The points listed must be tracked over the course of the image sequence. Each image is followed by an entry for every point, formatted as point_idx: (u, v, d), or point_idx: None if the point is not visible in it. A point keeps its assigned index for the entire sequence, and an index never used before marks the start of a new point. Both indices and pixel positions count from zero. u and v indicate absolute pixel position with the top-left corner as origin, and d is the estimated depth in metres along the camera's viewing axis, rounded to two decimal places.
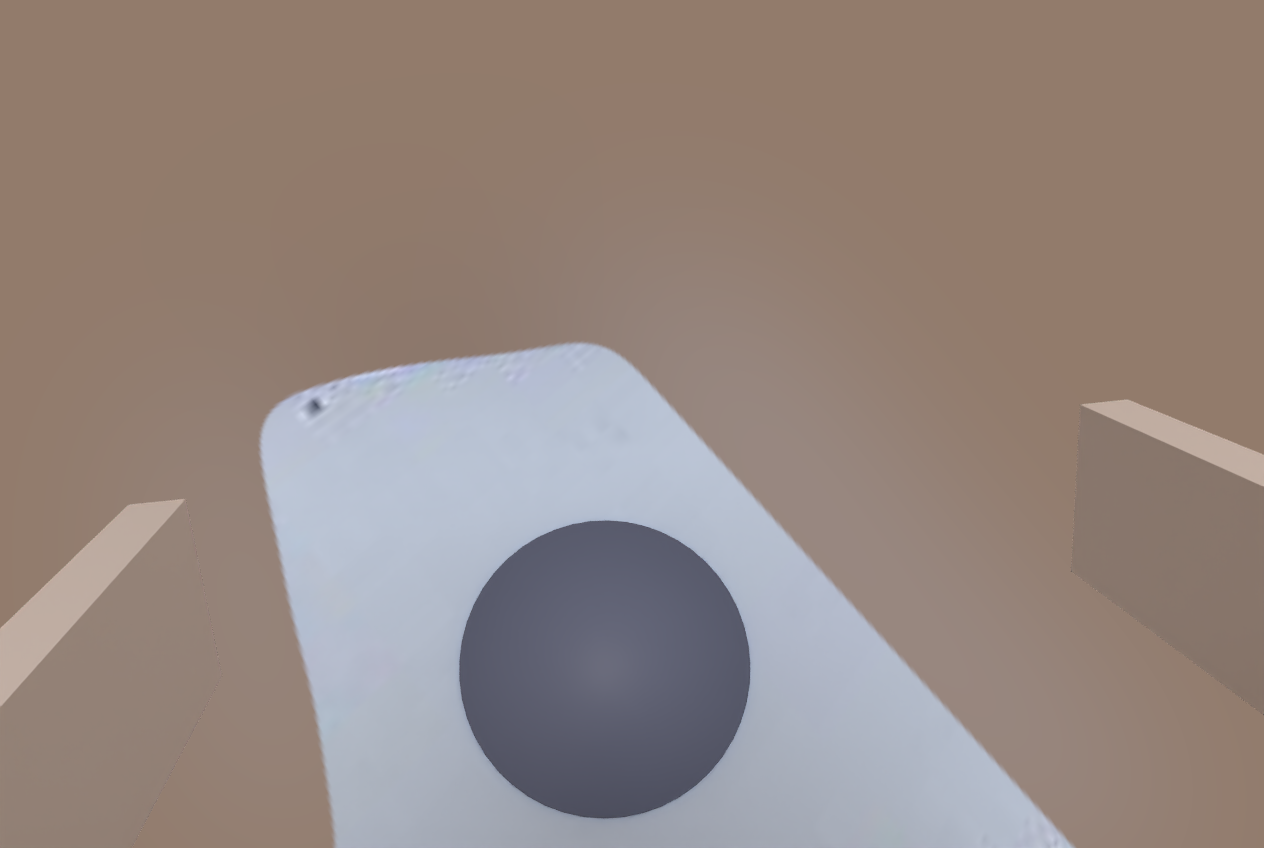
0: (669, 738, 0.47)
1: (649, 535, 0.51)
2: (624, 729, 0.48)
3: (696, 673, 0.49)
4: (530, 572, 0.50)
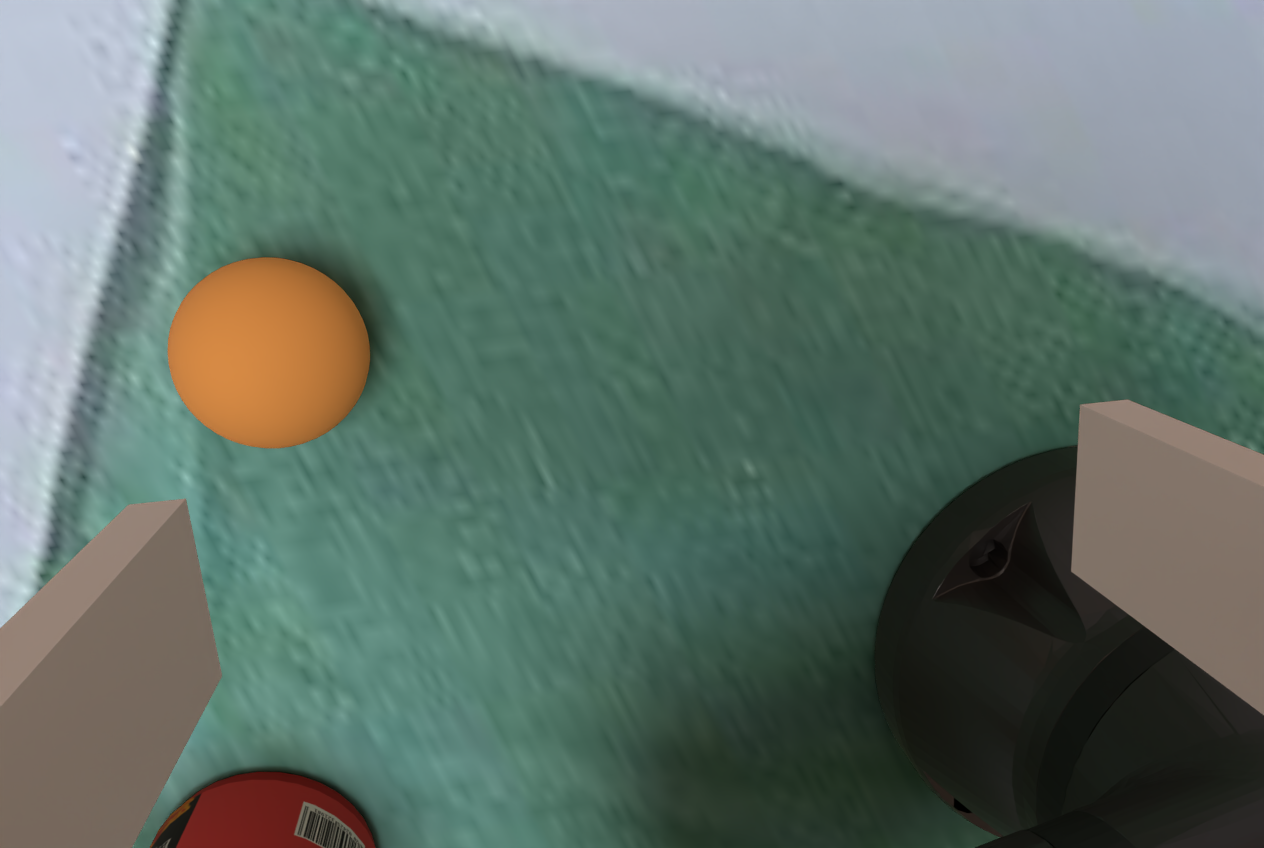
0: None
1: None
2: None
3: None
4: None
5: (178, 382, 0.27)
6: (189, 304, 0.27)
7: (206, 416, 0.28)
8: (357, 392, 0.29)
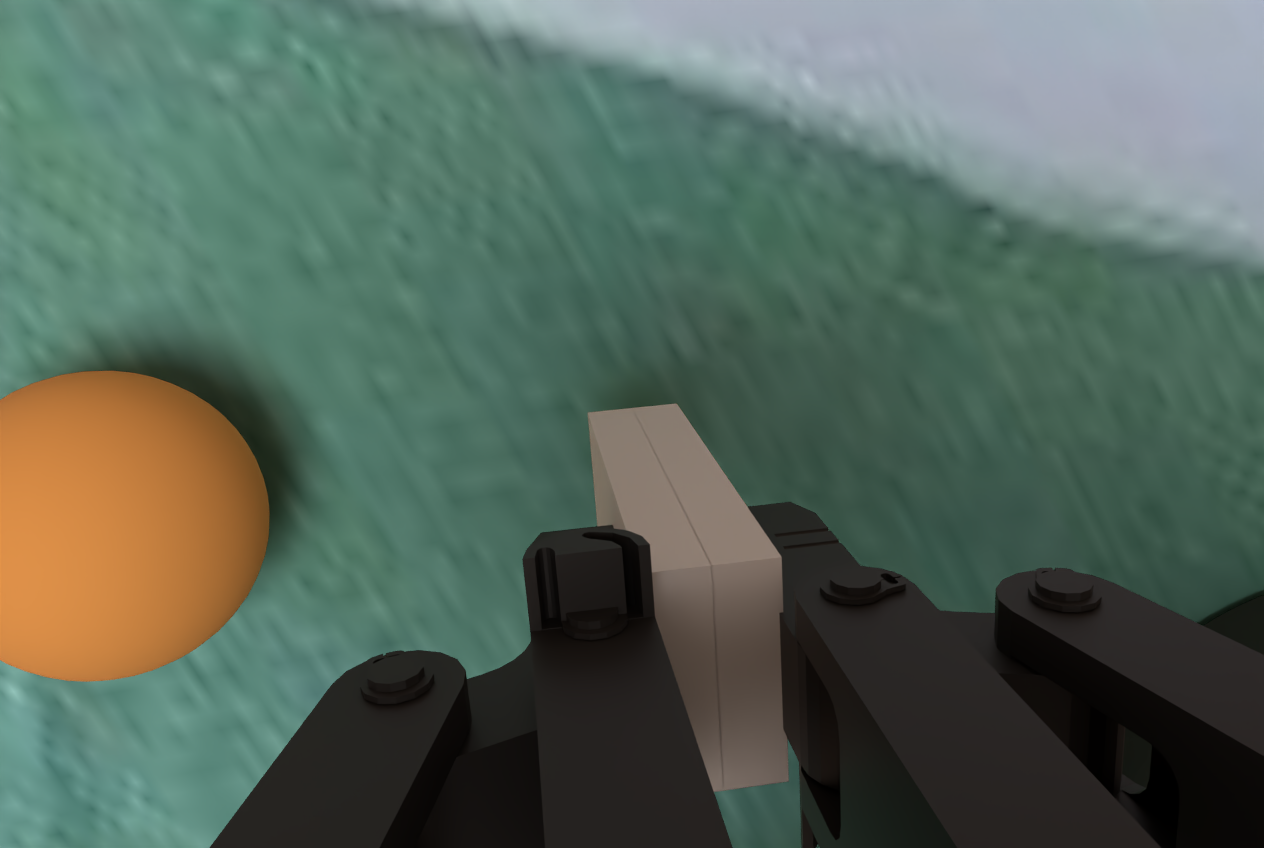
0: None
1: None
2: None
3: None
4: None
5: None
6: None
7: None
8: (245, 582, 0.18)
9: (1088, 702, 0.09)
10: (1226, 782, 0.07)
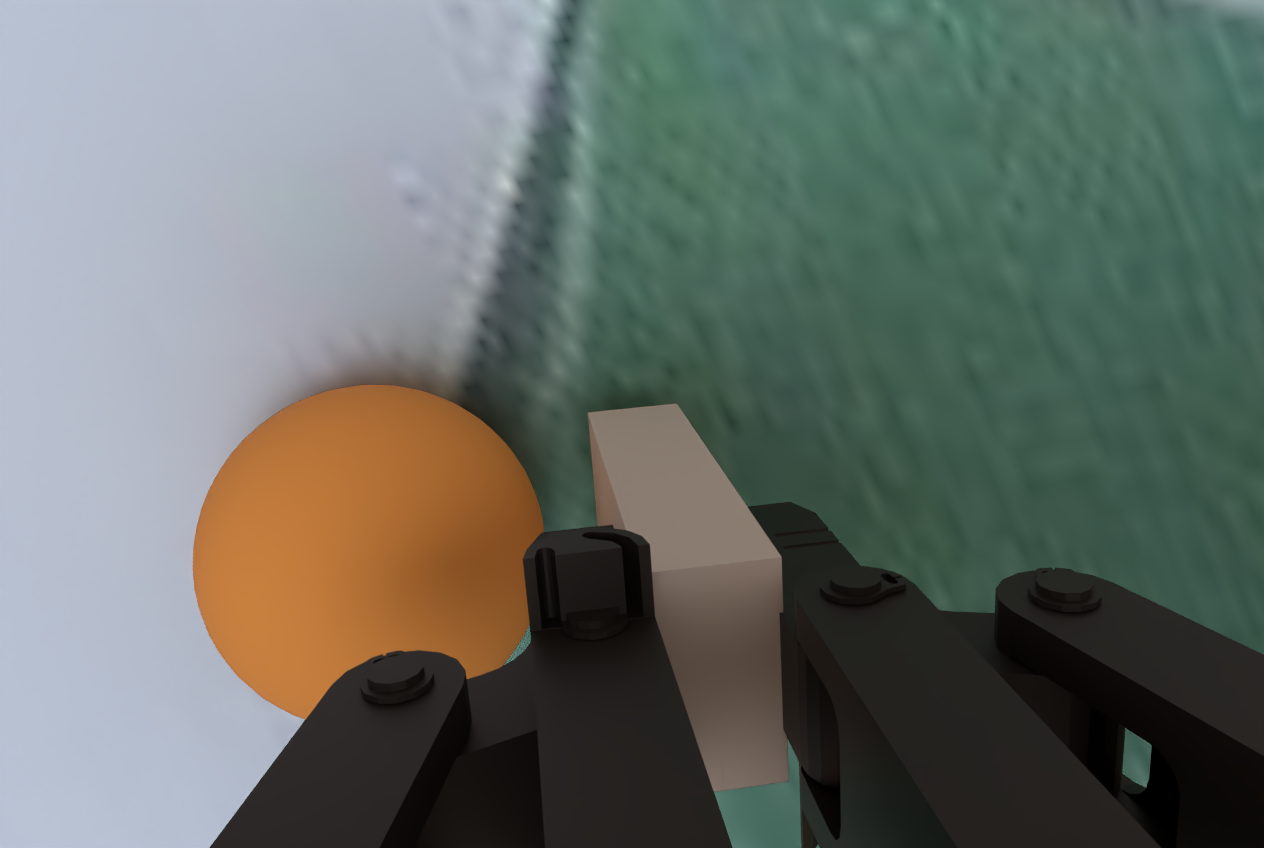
0: None
1: None
2: None
3: None
4: None
5: None
6: None
7: None
8: (231, 668, 0.15)
9: (1088, 701, 0.09)
10: (1226, 781, 0.07)
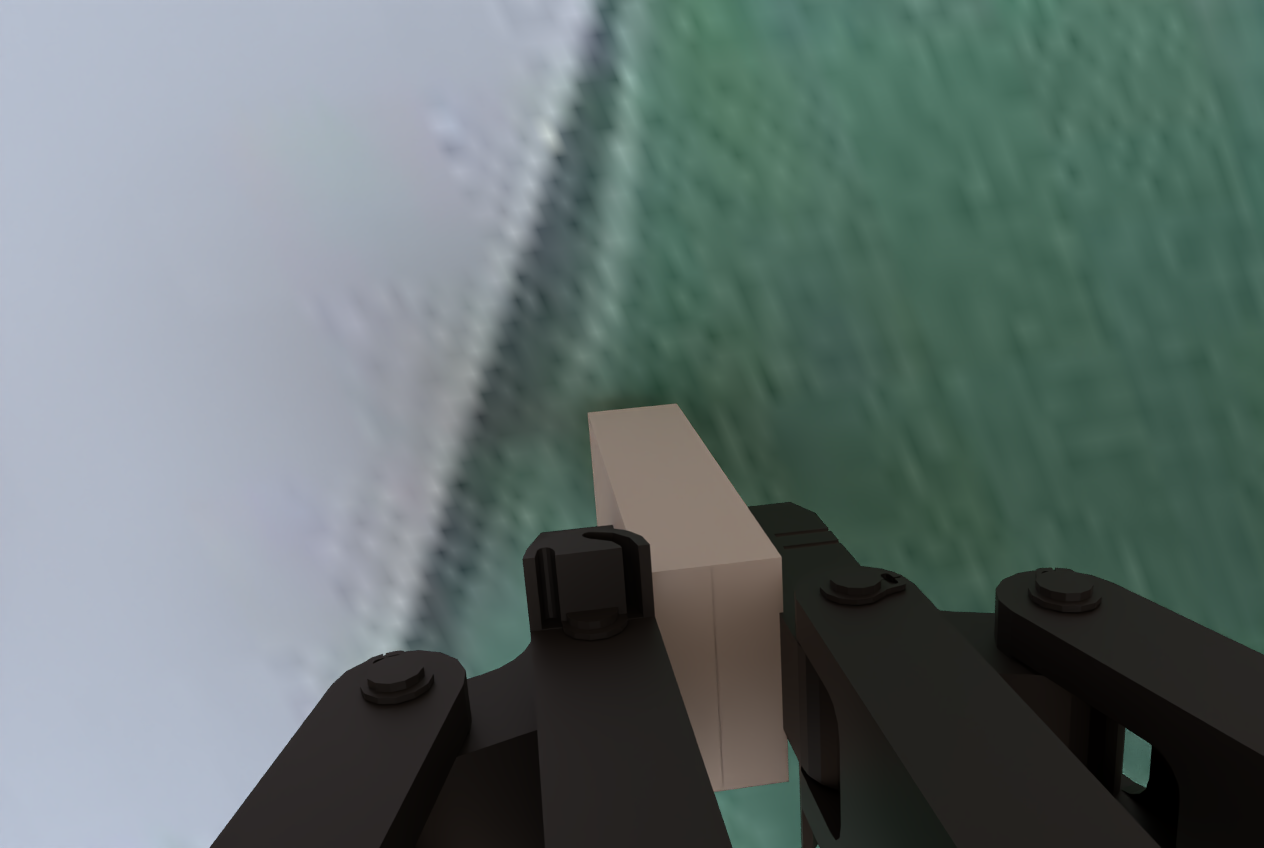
0: None
1: None
2: None
3: None
4: None
5: None
6: None
7: None
8: None
9: (1088, 702, 0.09)
10: (1226, 782, 0.07)
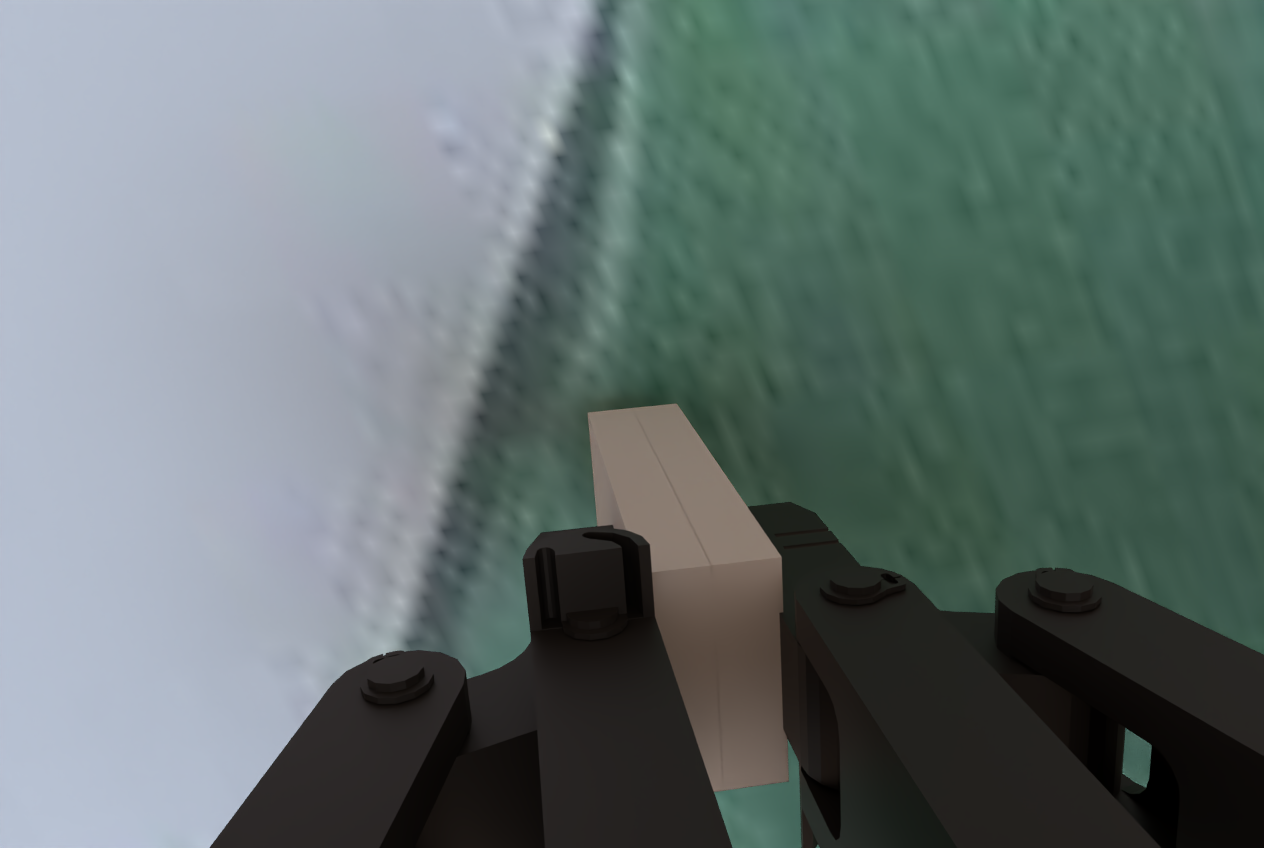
0: None
1: None
2: None
3: None
4: None
5: None
6: None
7: None
8: None
9: (1088, 702, 0.09)
10: (1226, 782, 0.07)
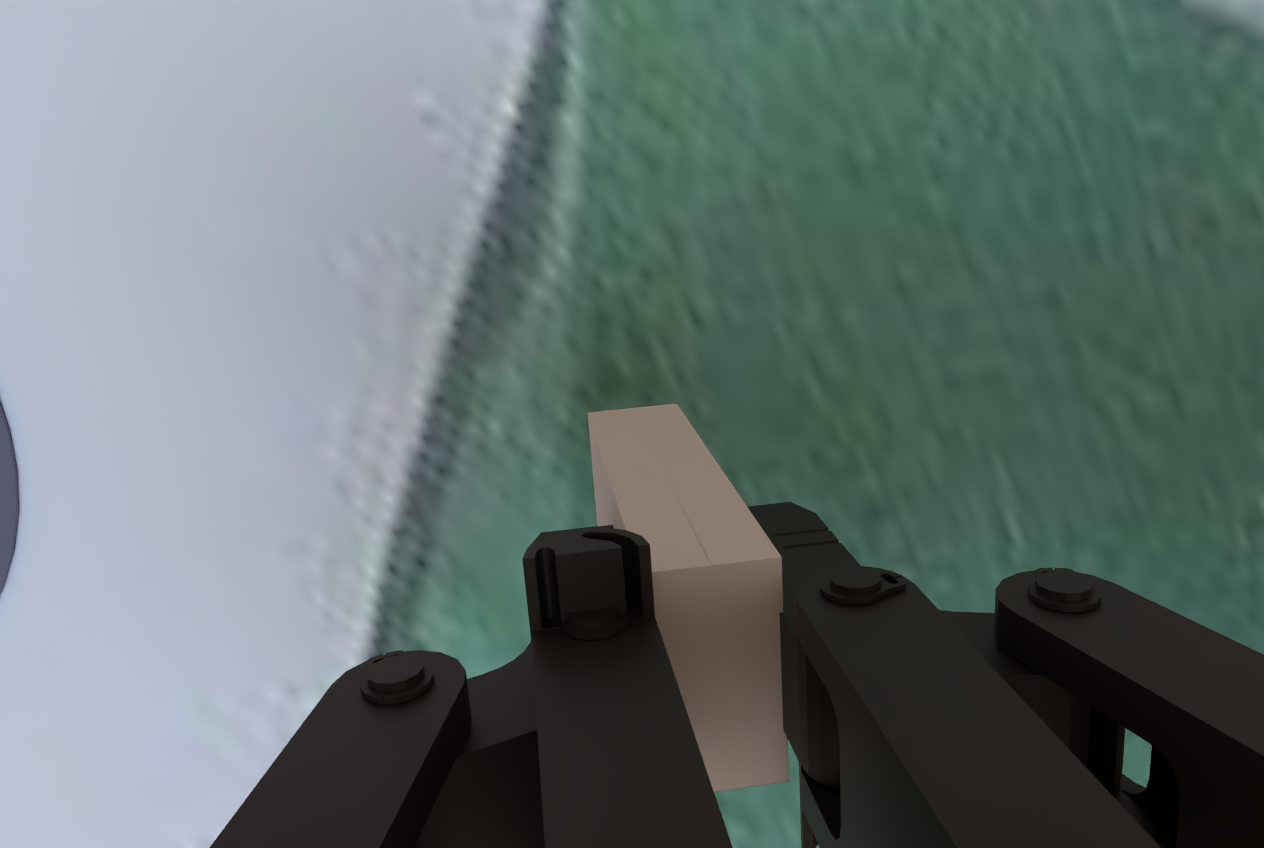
0: None
1: None
2: None
3: None
4: None
5: None
6: None
7: None
8: None
9: (1088, 702, 0.09)
10: (1226, 782, 0.07)
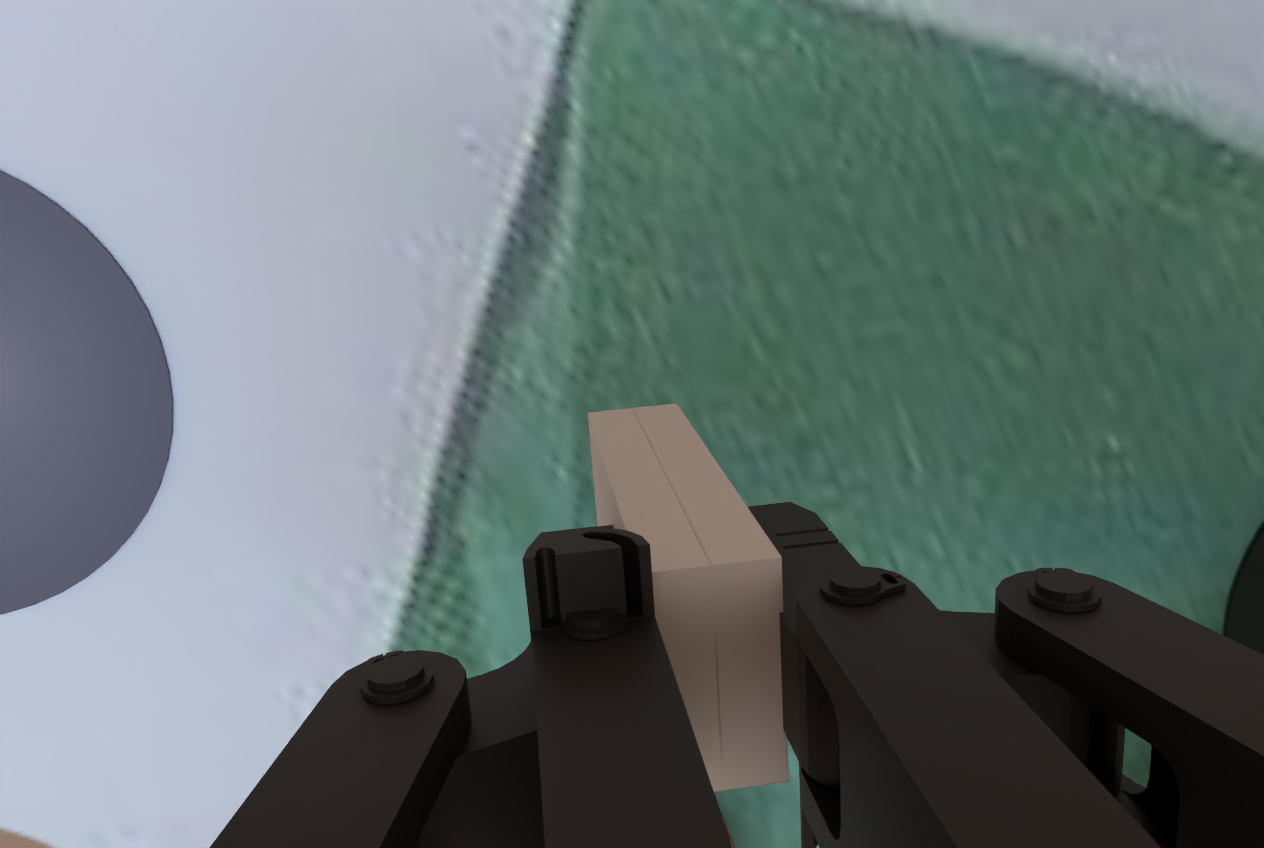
0: (78, 369, 0.29)
1: None
2: (32, 424, 0.29)
3: None
4: None
5: None
6: None
7: None
8: None
9: (1089, 702, 0.09)
10: (1227, 782, 0.07)
